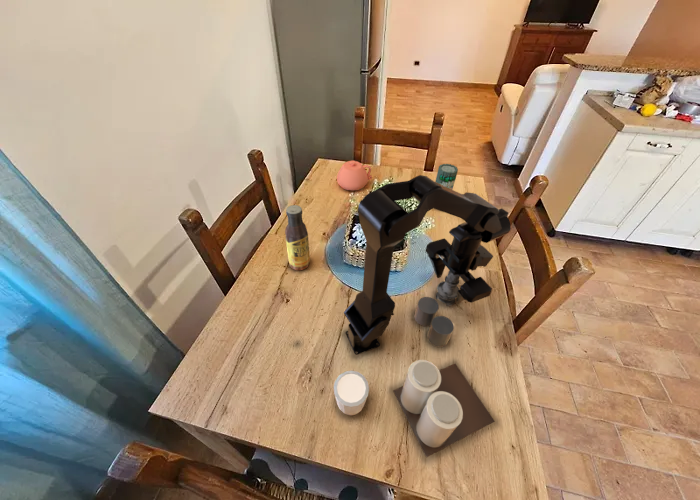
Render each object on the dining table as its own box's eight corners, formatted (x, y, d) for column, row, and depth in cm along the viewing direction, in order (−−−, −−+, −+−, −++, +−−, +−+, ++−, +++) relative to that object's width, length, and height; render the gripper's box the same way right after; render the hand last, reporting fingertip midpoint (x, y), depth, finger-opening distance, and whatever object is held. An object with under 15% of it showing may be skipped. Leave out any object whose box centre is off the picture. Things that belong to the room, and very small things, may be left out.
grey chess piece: (457, 308, 81) (469, 278, 73) (434, 304, 82) (444, 274, 73) (456, 291, 85) (468, 261, 77) (434, 287, 86) (444, 257, 78)
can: (438, 211, 111) (447, 174, 101) (427, 202, 115) (435, 166, 105) (450, 206, 114) (461, 170, 103) (439, 198, 117) (448, 162, 107)
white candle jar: (335, 383, 66) (334, 369, 62) (367, 385, 66) (368, 370, 62) (333, 418, 62) (332, 405, 57) (367, 419, 61) (369, 407, 57)
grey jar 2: (434, 350, 72) (439, 337, 68) (422, 333, 76) (427, 319, 71) (452, 343, 74) (458, 330, 69) (440, 326, 77) (445, 312, 73)
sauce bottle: (297, 274, 89) (288, 221, 75) (285, 263, 92) (274, 209, 78) (315, 264, 92) (310, 210, 78) (303, 253, 95) (296, 199, 81)
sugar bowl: (335, 177, 127) (335, 154, 120) (369, 176, 128) (370, 153, 121) (338, 194, 118) (337, 170, 111) (374, 192, 120) (375, 168, 113)
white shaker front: (427, 453, 57) (441, 433, 49) (410, 420, 61) (420, 397, 53) (453, 439, 59) (471, 418, 50) (436, 408, 63) (450, 383, 54)
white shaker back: (409, 419, 61) (419, 395, 53) (395, 390, 65) (402, 364, 57) (435, 406, 63) (449, 382, 55) (419, 379, 67) (430, 353, 58)
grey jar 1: (420, 330, 76) (425, 316, 72) (410, 314, 80) (414, 300, 75) (437, 323, 78) (443, 309, 73) (426, 308, 81) (431, 294, 77)
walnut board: (425, 458, 57) (426, 457, 57) (392, 391, 66) (392, 390, 65) (494, 422, 61) (495, 421, 61) (454, 364, 70) (455, 363, 70)
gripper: (522, 264, 66) (497, 307, 77) (467, 215, 78) (452, 258, 89) (480, 279, 63) (460, 321, 74) (430, 225, 75) (419, 268, 86)
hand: (448, 289), depth 81 cm, fingers open, 9 cm apart
